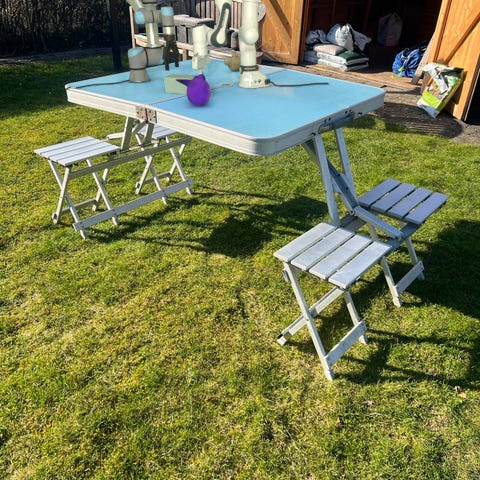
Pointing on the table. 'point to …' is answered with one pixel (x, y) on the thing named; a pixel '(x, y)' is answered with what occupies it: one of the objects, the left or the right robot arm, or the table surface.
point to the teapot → (233, 62)
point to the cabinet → (176, 83)
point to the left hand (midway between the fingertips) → (172, 68)
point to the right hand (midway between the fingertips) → (201, 74)
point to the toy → (197, 90)
